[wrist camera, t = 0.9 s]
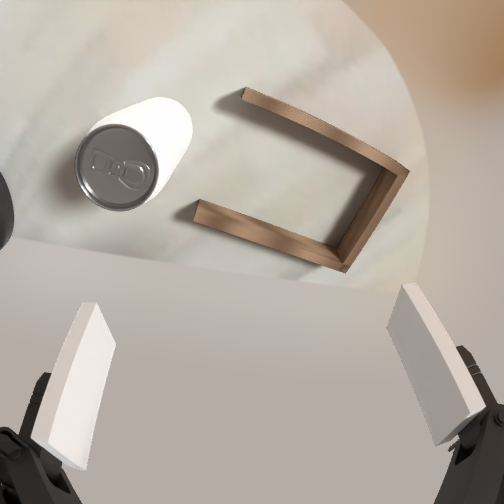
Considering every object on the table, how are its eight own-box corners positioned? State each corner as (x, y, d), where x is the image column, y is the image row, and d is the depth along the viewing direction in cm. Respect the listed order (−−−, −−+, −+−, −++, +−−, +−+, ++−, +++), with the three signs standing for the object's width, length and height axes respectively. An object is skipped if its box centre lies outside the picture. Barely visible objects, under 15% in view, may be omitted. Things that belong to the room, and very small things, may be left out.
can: (178, 171, 29) (147, 232, 19) (119, 148, 28) (61, 197, 17) (204, 111, 26) (182, 139, 16) (141, 87, 24) (83, 103, 14)
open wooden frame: (196, 207, 31) (193, 221, 29) (245, 87, 25) (246, 88, 23) (338, 257, 36) (345, 273, 33) (396, 161, 29) (409, 171, 27)
